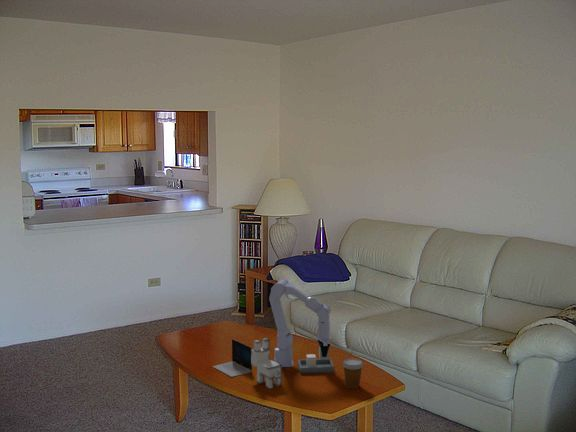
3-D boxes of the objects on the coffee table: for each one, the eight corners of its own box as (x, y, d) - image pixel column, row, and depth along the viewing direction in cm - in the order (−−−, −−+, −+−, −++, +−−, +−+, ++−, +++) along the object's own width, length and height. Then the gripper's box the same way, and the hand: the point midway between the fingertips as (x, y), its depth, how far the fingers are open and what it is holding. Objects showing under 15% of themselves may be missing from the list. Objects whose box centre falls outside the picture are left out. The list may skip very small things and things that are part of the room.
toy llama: (272, 390, 307) (271, 349, 305) (251, 379, 321) (250, 339, 318) (284, 386, 312) (284, 346, 309) (263, 375, 326) (263, 336, 323)
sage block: (319, 359, 331) (320, 348, 331) (318, 356, 336) (318, 345, 335) (328, 359, 332) (328, 347, 331) (327, 356, 336) (327, 345, 335)
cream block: (307, 368, 332) (307, 357, 331) (306, 365, 336) (306, 354, 335) (315, 368, 332) (315, 357, 331) (315, 365, 336) (315, 354, 336)
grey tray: (300, 373, 328) (300, 368, 327) (298, 365, 340) (298, 359, 339) (333, 372, 329) (334, 367, 329) (330, 364, 341) (330, 358, 340)
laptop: (212, 367, 337) (211, 343, 336) (232, 362, 345) (232, 338, 343) (231, 378, 323) (231, 352, 322) (252, 372, 331) (252, 347, 329)
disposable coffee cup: (357, 391, 306) (357, 366, 304) (339, 387, 311) (339, 363, 309) (366, 384, 314) (366, 360, 312) (348, 380, 319) (348, 357, 317)
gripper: (333, 333, 325) (333, 359, 327) (329, 324, 339) (329, 350, 341) (319, 333, 324) (319, 360, 326) (316, 325, 339) (316, 350, 341)
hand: (323, 355), depth 334 cm, fingers closed on sage block, 4 cm apart
